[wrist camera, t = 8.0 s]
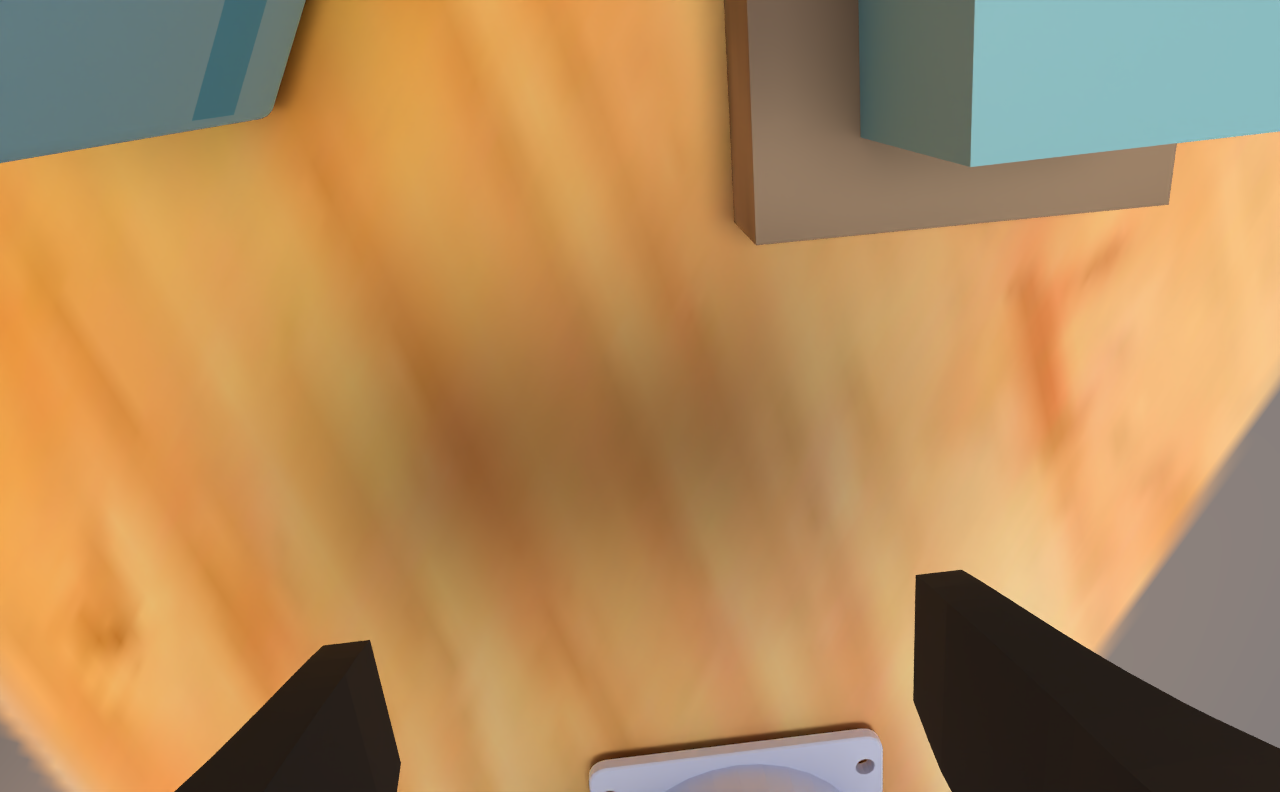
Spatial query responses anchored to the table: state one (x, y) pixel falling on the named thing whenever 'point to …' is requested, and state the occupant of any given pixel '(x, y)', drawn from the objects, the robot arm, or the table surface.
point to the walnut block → (877, 145)
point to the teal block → (1064, 75)
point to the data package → (135, 69)
